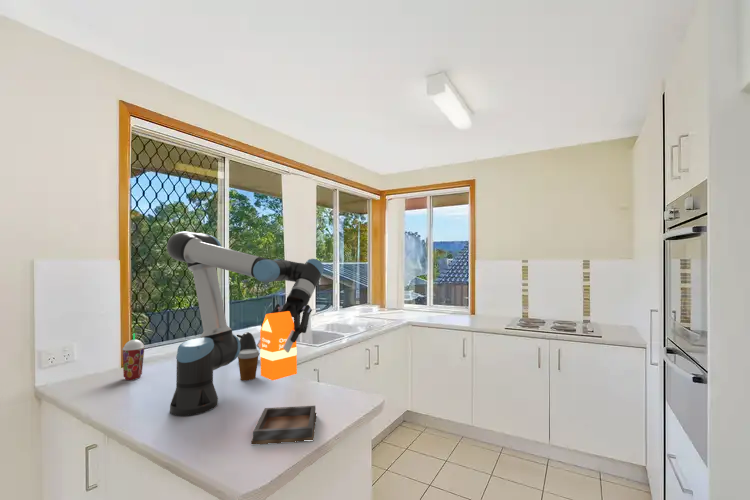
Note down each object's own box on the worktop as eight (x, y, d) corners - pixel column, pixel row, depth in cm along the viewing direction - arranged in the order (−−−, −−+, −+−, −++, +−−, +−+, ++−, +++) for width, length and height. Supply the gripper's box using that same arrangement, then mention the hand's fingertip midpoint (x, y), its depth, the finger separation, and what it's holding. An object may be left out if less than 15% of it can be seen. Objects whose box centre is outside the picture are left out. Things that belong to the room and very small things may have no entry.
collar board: (251, 445, 97) (251, 432, 97) (263, 418, 114) (263, 407, 114) (313, 441, 99) (313, 428, 99) (316, 415, 116) (316, 405, 116)
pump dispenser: (235, 360, 187) (235, 331, 188) (255, 357, 191) (256, 329, 192) (236, 364, 178) (237, 334, 178) (257, 362, 182) (258, 333, 183)
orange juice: (260, 375, 112) (259, 313, 113) (284, 369, 118) (283, 310, 119) (272, 380, 106) (271, 315, 107) (297, 373, 113) (296, 311, 114)
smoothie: (148, 375, 160) (149, 331, 161) (134, 381, 152) (135, 335, 153) (131, 375, 161) (132, 331, 162) (116, 380, 153) (118, 335, 154)
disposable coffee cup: (244, 383, 149) (244, 355, 150) (232, 379, 155) (232, 352, 155) (263, 377, 156) (263, 350, 157) (251, 373, 162) (251, 348, 163)
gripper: (331, 301, 123) (307, 358, 108) (280, 300, 132) (250, 353, 116) (323, 287, 118) (296, 344, 103) (270, 287, 127) (238, 340, 112)
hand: (272, 349), depth 110 cm, fingers closed on orange juice, 9 cm apart
